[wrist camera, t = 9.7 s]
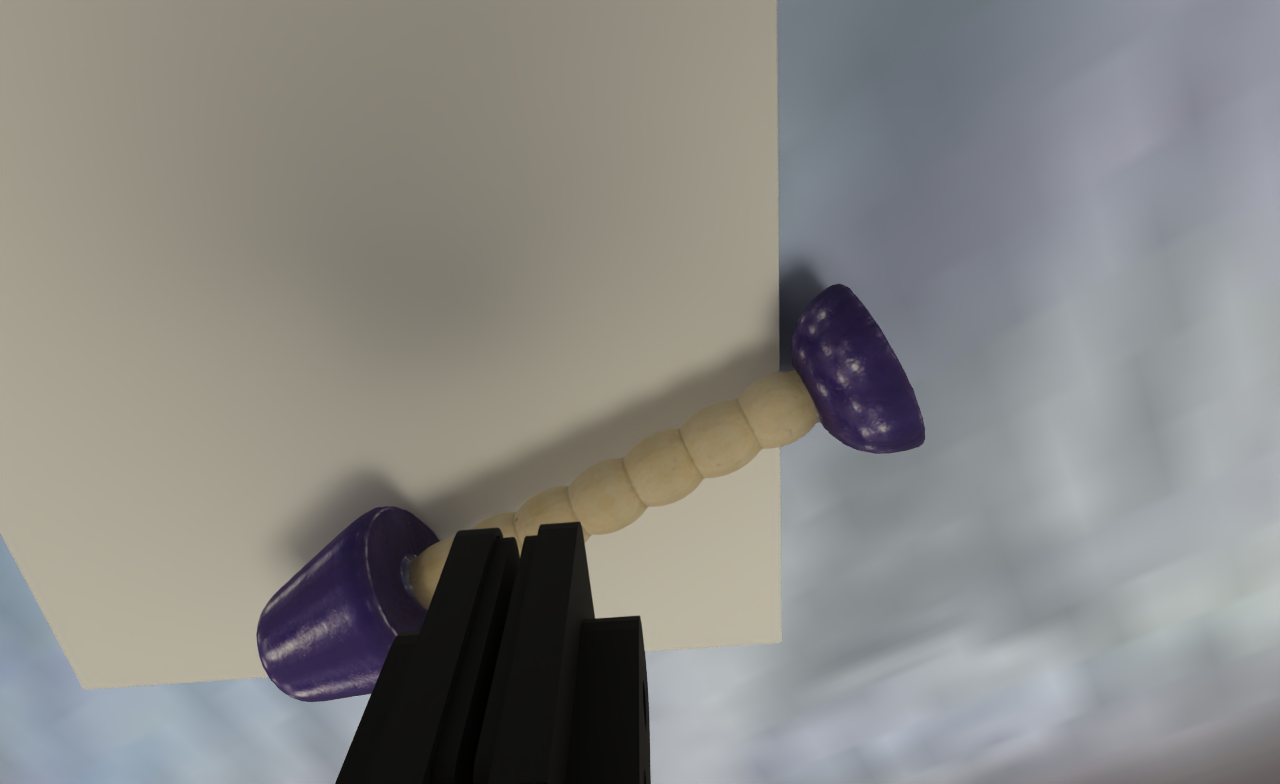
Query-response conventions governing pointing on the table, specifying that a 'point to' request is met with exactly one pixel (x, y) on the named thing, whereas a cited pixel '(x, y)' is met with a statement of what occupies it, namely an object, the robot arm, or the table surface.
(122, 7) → the mat
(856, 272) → the table surface
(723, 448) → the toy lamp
